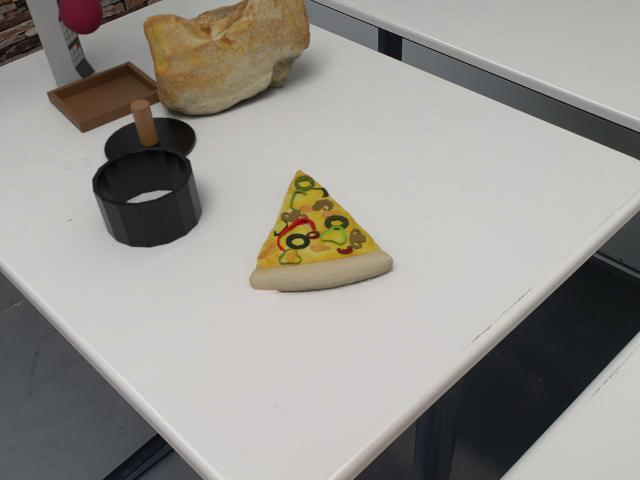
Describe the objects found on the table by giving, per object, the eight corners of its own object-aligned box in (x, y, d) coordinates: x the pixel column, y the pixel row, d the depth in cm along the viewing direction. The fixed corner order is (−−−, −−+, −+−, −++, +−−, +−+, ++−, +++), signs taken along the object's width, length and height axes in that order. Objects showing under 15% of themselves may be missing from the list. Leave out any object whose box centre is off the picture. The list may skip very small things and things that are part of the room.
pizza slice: (252, 301, 73) (248, 281, 71) (239, 185, 87) (236, 165, 84) (396, 281, 74) (397, 260, 72) (361, 169, 88) (360, 149, 85)
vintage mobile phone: (88, 90, 105) (26, -94, 87) (58, 89, 106) (-10, -94, 88) (97, 78, 108) (40, -104, 89) (68, 76, 108) (5, -103, 90)
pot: (135, 264, 78) (119, 219, 73) (93, 217, 84) (75, 172, 79) (219, 222, 82) (210, 176, 77) (173, 180, 88) (161, 135, 83)
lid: (132, 187, 88) (117, 142, 83) (91, 147, 95) (75, 103, 90) (213, 150, 92) (204, 105, 88) (169, 114, 99) (158, 71, 94)
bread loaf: (282, 50, 112) (267, -50, 102) (325, 86, 101) (312, -23, 91) (144, 90, 107) (114, -12, 97) (173, 133, 95) (141, 23, 85)
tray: (83, 137, 96) (79, 123, 95) (51, 105, 103) (46, 92, 101) (169, 102, 102) (165, 88, 100) (132, 73, 108) (129, 60, 106)
